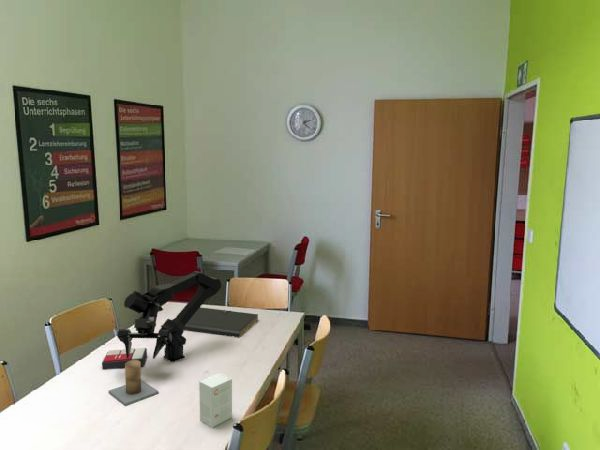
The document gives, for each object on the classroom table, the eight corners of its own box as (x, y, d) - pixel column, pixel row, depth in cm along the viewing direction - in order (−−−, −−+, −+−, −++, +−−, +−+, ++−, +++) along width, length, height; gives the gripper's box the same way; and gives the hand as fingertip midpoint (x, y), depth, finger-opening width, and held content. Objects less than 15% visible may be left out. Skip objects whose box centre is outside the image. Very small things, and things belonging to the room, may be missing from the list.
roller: (136, 385, 168) (136, 358, 167) (144, 391, 165) (143, 363, 163) (123, 390, 165) (122, 363, 163) (130, 396, 161) (129, 367, 160)
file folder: (258, 313, 239) (238, 331, 216) (258, 321, 239) (238, 339, 217) (198, 306, 248) (173, 322, 225) (198, 313, 248) (173, 330, 226)
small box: (219, 410, 155) (219, 372, 153) (232, 417, 151) (232, 378, 149) (199, 420, 149) (198, 380, 147) (212, 428, 145) (212, 387, 143)
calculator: (107, 349, 192) (146, 345, 195) (108, 359, 193) (147, 356, 196) (101, 361, 182) (142, 357, 184) (102, 372, 182) (143, 367, 185)
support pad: (141, 381, 173) (141, 379, 173) (158, 393, 165) (158, 391, 165) (108, 392, 165) (108, 390, 165) (125, 406, 157) (125, 403, 156)
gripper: (117, 307, 174) (107, 349, 165) (169, 308, 175) (162, 350, 166) (125, 321, 183) (116, 361, 174) (175, 322, 184) (168, 361, 174)
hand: (140, 358), depth 172 cm, fingers open, 9 cm apart
